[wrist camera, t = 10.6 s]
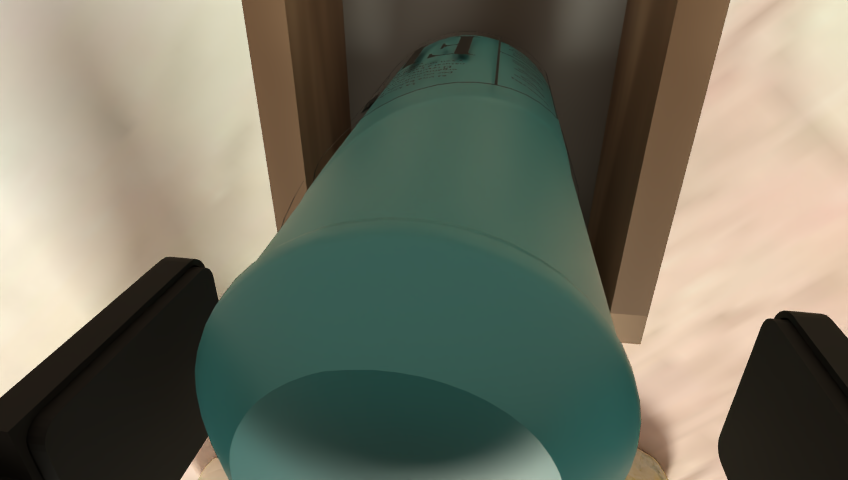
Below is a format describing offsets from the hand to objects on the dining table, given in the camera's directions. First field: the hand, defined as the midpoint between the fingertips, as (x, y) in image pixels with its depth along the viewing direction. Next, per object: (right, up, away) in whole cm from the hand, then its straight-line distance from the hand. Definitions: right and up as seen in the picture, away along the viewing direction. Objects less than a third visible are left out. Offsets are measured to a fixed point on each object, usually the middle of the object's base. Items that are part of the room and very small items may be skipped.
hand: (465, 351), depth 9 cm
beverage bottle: (+1, +7, +12) cm, 14 cm away
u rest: (+1, +7, +12) cm, 14 cm away
